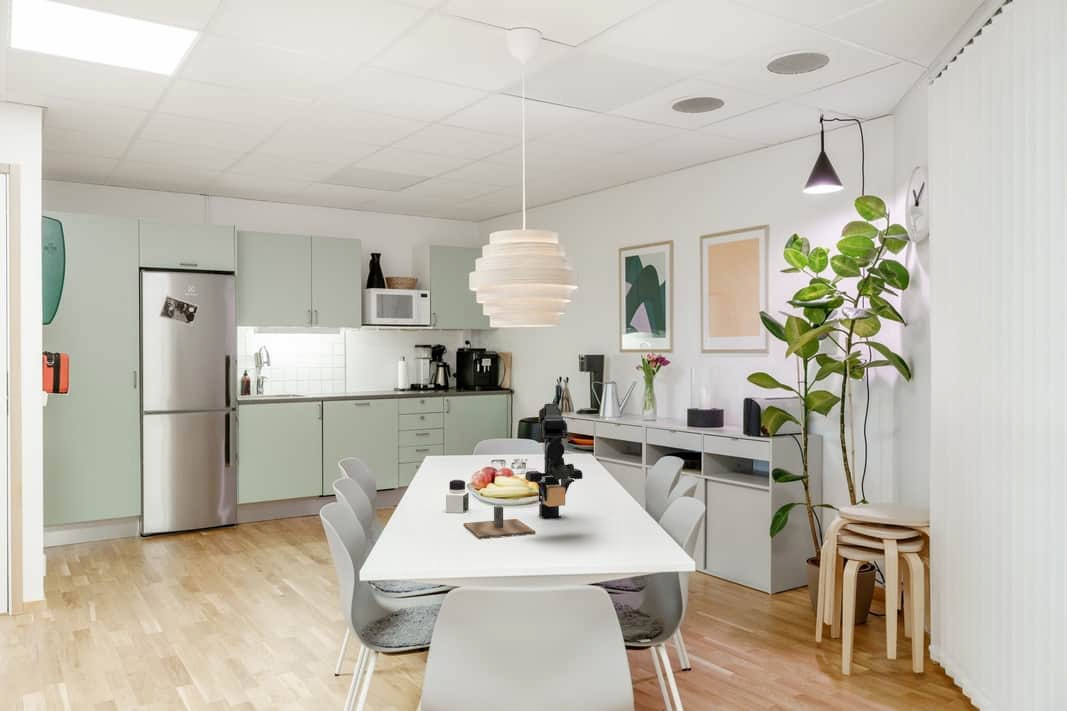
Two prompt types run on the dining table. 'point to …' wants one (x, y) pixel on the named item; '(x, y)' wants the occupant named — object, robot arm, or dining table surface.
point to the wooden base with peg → (498, 526)
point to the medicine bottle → (457, 497)
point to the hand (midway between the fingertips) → (554, 500)
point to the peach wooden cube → (555, 495)
